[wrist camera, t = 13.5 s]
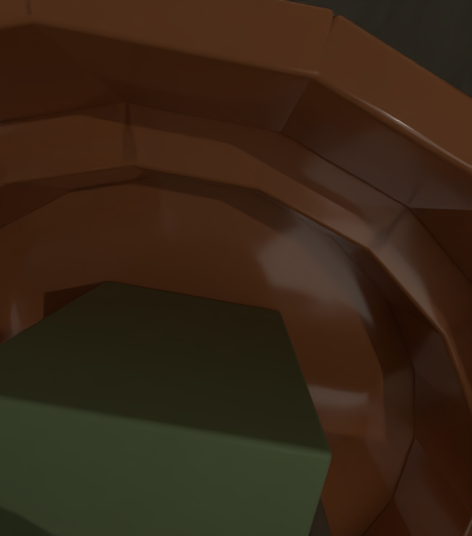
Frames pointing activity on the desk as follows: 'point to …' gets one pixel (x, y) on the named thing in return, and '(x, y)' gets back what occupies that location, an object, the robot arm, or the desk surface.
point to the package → (157, 421)
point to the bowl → (260, 213)
